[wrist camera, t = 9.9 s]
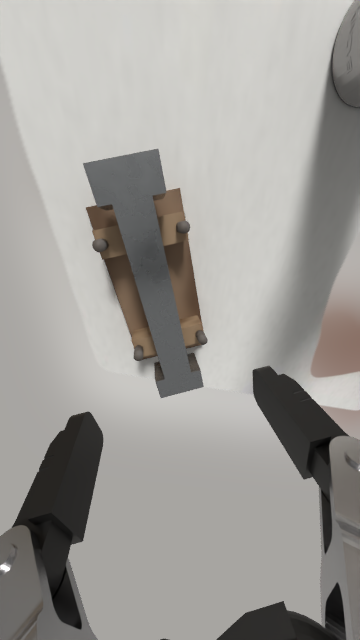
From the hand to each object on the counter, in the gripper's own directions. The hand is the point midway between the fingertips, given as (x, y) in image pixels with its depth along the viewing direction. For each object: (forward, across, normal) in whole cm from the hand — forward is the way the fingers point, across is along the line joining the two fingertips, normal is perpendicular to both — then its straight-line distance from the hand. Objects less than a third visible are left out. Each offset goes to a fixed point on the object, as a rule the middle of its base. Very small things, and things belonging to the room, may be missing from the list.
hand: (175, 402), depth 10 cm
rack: (+22, 0, 0) cm, 22 cm away
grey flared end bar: (+17, 0, 0) cm, 17 cm away
